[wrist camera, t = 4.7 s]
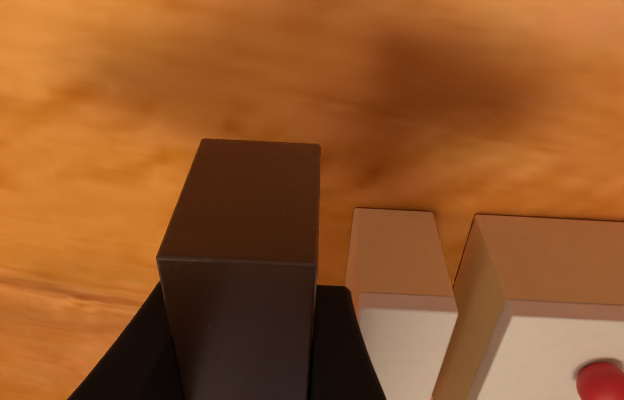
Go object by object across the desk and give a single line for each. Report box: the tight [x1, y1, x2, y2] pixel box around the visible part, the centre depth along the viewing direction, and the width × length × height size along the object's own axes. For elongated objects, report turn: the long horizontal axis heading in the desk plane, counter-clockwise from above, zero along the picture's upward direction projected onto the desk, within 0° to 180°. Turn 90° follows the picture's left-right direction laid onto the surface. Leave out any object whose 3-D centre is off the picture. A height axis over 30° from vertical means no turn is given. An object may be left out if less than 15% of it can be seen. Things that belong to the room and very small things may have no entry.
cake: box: [432, 214, 624, 400], centre depth 20 cm, size 10×6×6 cm, turn 177°
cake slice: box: [345, 208, 458, 400], centre depth 21 cm, size 10×3×5 cm, turn 177°
